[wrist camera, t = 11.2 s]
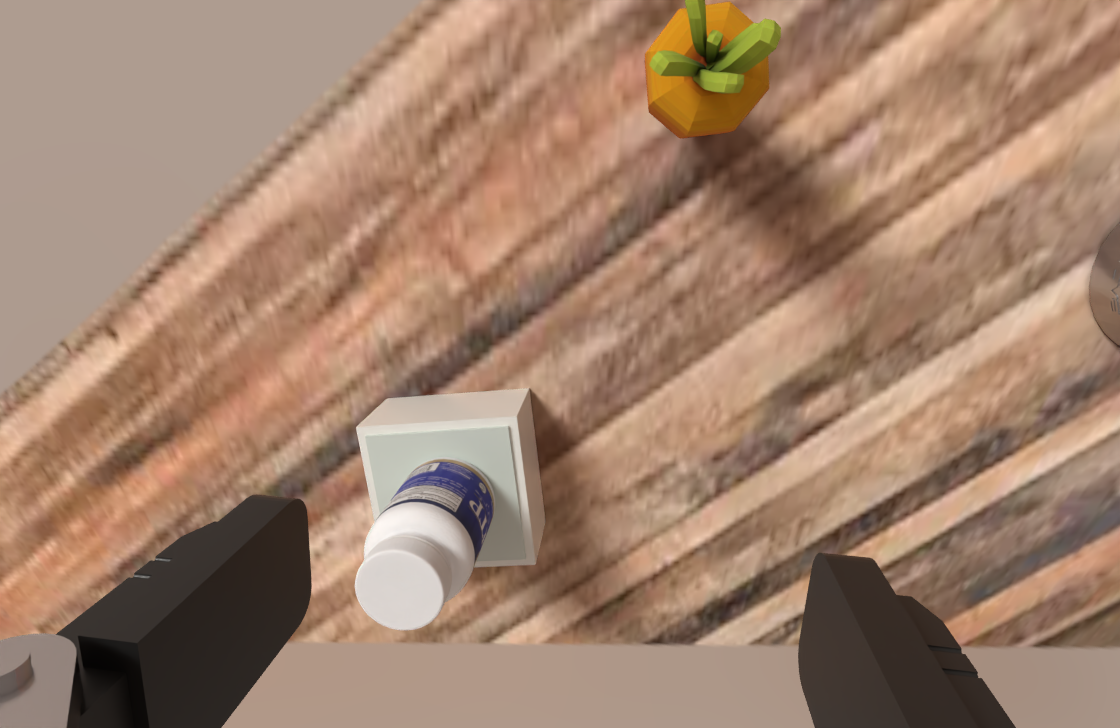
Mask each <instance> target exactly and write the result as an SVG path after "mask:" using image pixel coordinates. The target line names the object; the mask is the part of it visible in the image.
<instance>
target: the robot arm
mask: <svg viewBox="0 0 1120 728" xmlns="http://www.w3.org/2000/svg"><path fill="white" fill-rule="evenodd" d="M1089 290H1090V304H1091V307H1092V310H1093V313H1094V316H1095V319H1096V321H1097V322H1098V324H1099V325H1100V327H1101V329H1102V330H1103V332H1104V333H1105V334H1106V335H1107V336H1108V337H1109V338H1110V339H1111V340H1113V341H1114V342H1115V343H1116V344H1117V345H1119V346H1120V223H1119V224H1118V225H1117V226H1116V227H1115V228H1114V229H1113V230H1112V231H1111V232H1110V234H1109V235H1108V237H1107V239H1106V240H1105V242H1104V243H1103V245H1102V246H1101V248H1100V250H1099V252H1098V255H1097V257H1096V260H1095V262H1094V264H1093V267H1092V272H1091V278H1090V284H1089ZM310 596H311V566H310V550H309V533H308V516H307V509H306V506H305V504H304V502H303V501H302V500H300V499H295V498H286V497H276V496H266V495H252V496H250V497H248V498H247V499H245V500H244V501H243V502H242V503H241V504H239V505H238V506H237V507H236V508H234V509H233V510H232V511H231V512H229V513H228V514H227V515H226V516H225V517H223V518H222V519H221V520H220V521H218V522H213V523H210V524H208V525H206V526H204V527H202V528H200V529H197V530H195V531H193V532H191V533H189V534H186V535H184V536H182V537H180V538H179V539H178V540H176V541H175V542H174V543H173V544H171V545H170V546H169V547H167V548H166V549H165V550H164V551H162V552H161V553H160V554H158V555H157V556H156V559H155V561H149V562H148V563H147V564H146V565H144V566H143V567H142V568H140V569H139V570H138V571H137V572H135V573H134V577H133V578H128V579H126V580H125V581H124V582H122V583H121V584H120V585H119V586H117V587H116V588H115V589H113V590H112V591H111V592H110V593H108V594H107V595H106V596H104V597H103V598H102V599H101V600H99V601H98V602H97V603H95V604H94V605H93V606H92V607H90V608H89V609H88V610H86V611H85V612H84V613H83V614H81V615H80V616H79V617H77V618H76V619H75V620H74V621H72V622H71V623H70V624H68V625H67V626H66V627H65V628H63V629H62V630H61V631H59V632H58V633H57V634H56V635H54V634H30V635H22V636H17V637H12V638H8V639H4V640H1V641H0V728H221V727H222V726H223V725H224V723H225V722H226V721H227V719H228V718H229V717H230V716H231V714H232V713H233V712H234V710H235V709H236V708H237V706H238V705H239V704H240V703H241V701H242V700H243V699H244V697H245V696H246V695H247V693H248V692H249V691H250V689H251V688H252V687H253V685H254V684H255V683H256V682H257V680H258V679H259V678H260V676H261V675H262V674H263V672H264V671H265V670H266V668H267V667H268V666H269V665H270V663H271V662H272V661H273V659H274V658H275V657H276V655H277V654H278V653H279V651H280V650H281V649H282V648H283V646H284V645H285V644H286V642H287V641H288V640H289V638H290V637H291V636H292V634H293V633H294V632H295V631H296V629H297V628H298V627H299V625H300V624H301V622H302V620H303V618H304V616H305V614H306V611H307V608H308V605H309V601H310ZM798 659H799V660H798V662H799V674H800V680H801V685H802V689H803V692H804V695H805V698H806V701H807V704H808V707H809V711H810V714H811V717H812V720H813V723H814V726H815V728H1016V727H1015V726H1014V724H1013V723H1012V721H1011V720H1010V719H1009V717H1008V716H1007V714H1006V713H1005V711H1004V710H1003V708H1002V707H1001V706H1000V704H999V703H998V701H997V700H996V698H995V697H994V695H993V694H992V693H991V691H990V690H989V688H988V687H987V685H986V684H985V682H984V681H983V679H982V678H978V675H977V673H978V672H977V671H976V669H975V668H974V666H973V665H972V664H971V662H970V660H969V659H968V658H967V656H966V655H965V654H962V653H961V647H960V646H959V645H958V643H957V642H956V640H955V639H954V637H953V636H952V634H951V633H950V631H949V630H948V629H947V627H946V626H945V624H944V623H943V621H941V620H940V619H939V618H938V617H936V616H935V615H934V614H933V613H931V612H930V611H929V610H928V609H926V608H925V607H924V606H923V605H921V604H920V603H919V602H918V601H916V600H915V599H914V598H912V597H909V596H900V595H896V594H895V592H894V591H893V589H892V588H891V586H890V584H889V583H888V581H887V579H886V578H885V576H884V575H883V573H882V571H881V570H880V568H879V567H878V565H877V563H876V562H875V561H874V560H873V559H872V558H866V557H857V556H847V555H837V554H827V553H818V554H817V555H816V557H815V559H814V561H813V565H812V570H811V576H810V581H809V587H808V593H807V599H806V605H805V611H804V616H803V622H802V628H801V634H800V640H799V653H798Z"/></svg>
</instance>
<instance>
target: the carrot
mask: <svg viewBox="0 0 1120 728" xmlns="http://www.w3.org/2000/svg"><path fill="white" fill-rule="evenodd" d="M685 4H686V8H683V9H679V10H678V11H677V12H676V14H675V15H674V16H673V18H672V19H671V20H670V22H669V23H668V24H667V25H666V27H665V28H664V29H663V31H662V32H661V33H660V35H659V36H658V37H657V39H656V40H655V41H654V43H653V44H652V45H651V47H650V48H649V49H648V51H647V52H646V53H645V69H646V83H647V96H648V109H649V113H650V114H652V115H653V116H654V117H655V118H656V119H657V120H659V121H660V122H661V123H662V124H663V125H664V126H666V127H667V128H668V129H669V130H670V131H671V132H673V133H674V134H675V135H676V136H677V137H679V138H689V137H697V136H705V135H713V134H721V133H728V132H731V131H735V129H736V128H737V127H738V126H739V125H740V123H741V122H742V121H743V120H744V118H745V117H746V116H747V115H748V114H749V112H750V111H751V110H752V109H753V108H754V106H755V105H756V104H757V103H758V102H759V100H760V99H761V98H762V97H763V95H764V94H765V93H766V92H767V91H768V89H769V64H768V55H769V54H770V53H771V52H772V51H774V50H775V49H776V47H777V45H778V42H779V40H780V37H781V27H780V26H779V25H778V24H777V23H776V22H775V21H773V20H769V19H764V20H763V21H761V22H760V23H753V22H752V21H751V20H750V19H749V18H748V17H747V16H746V15H744V14H743V13H742V12H741V11H740V10H739V9H738V8H737V7H735V6H734V5H733V4H732V3H731V2H724V3H717V4H710V5H705V0H685Z"/></svg>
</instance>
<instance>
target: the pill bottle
mask: <svg viewBox="0 0 1120 728" xmlns="http://www.w3.org/2000/svg"><path fill="white" fill-rule="evenodd" d="M494 512H495V496H494V492H493V489H492V487H491V485H490V483H489V481H488V480H487V478H486V477H485V475H484V474H483V473H482V472H481V471H480V470H479V469H477V468H476V467H475V466H473V465H472V464H470V463H468V462H466V461H463V460H461V459H457V458H452V457H439V458H434V459H431V460H428V461H426V462H423V463H422V464H420V465H419V466H417V467H416V468H415V469H414V470H413V471H412V472H411V473H410V475H409V476H408V477H407V478H406V480H405V481H404V483H403V484H402V485H401V487H400V488H399V490H398V491H397V492H396V494H395V495H394V497H393V498H392V499H391V501H390V502H389V503H388V505H387V506H386V507H385V509H384V510H383V511H382V513H381V514H380V515H379V516H378V518H377V519H376V521H375V522H374V524H373V525H372V527H371V529H370V531H369V533H368V535H367V538H366V541H365V547H364V559H365V560H364V561H363V563H362V565H361V566H360V568H359V570H358V572H357V576H356V580H355V590H356V595H357V598H358V601H359V603H360V605H361V607H362V608H363V610H364V611H365V612H366V613H367V614H368V615H369V616H370V617H371V618H372V619H373V620H375V621H376V622H378V623H379V624H381V625H383V626H386V627H388V628H392V629H396V630H414V629H418V628H421V627H423V626H425V625H427V624H429V623H430V622H432V621H433V620H434V619H435V618H436V617H437V616H438V614H439V613H440V611H441V609H442V607H443V605H444V603H445V602H446V601H448V600H450V599H452V598H453V597H454V596H456V595H457V594H458V593H459V592H460V591H461V590H462V589H463V587H464V586H465V585H466V583H467V581H468V579H469V578H470V576H471V574H472V571H473V569H474V566H475V563H476V561H477V558H478V556H479V553H480V551H481V548H482V545H483V543H484V540H485V537H486V535H487V532H488V529H489V527H490V524H491V522H492V519H493V516H494Z"/></svg>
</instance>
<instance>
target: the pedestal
mask: <svg viewBox="0 0 1120 728" xmlns="http://www.w3.org/2000/svg"><path fill="white" fill-rule="evenodd" d="M356 429H357V435H358V440H359V445H360V450H361V455H362V460H363V465H364V470H365V475H366V481H367V486H368V491H369V496H370V501H371V506H372V511H373V516H374V521H376V519H377V518H378V516H379V515H380V514H381V513H382V511H383V510H384V509H385V507H386V506H387V505H388V503H389V502H390V501H391V499H392V498H393V497H394V495H395V494H396V492H397V491H398V490H399V488H400V487H401V485H402V484H403V483H404V481H405V480H406V478H407V477H408V476H409V475H410V473H411V472H412V471H413V470H414V469H415V468H416V467H417V466H419V465H420V464H422V463H423V462H426V461H428V460H431V459H434V458H439V457H452V458H457V459H461V460H463V461H466V462H468V463H470V464H472V465H473V466H475V467H476V468H477V469H479V470H480V471H481V472H482V473H483V474H484V475H485V477H486V478H487V480H488V481H489V483H490V485H491V487H492V489H493V492H494V496H495V512H494V516H493V519H492V522H491V524H490V527H489V529H488V532H487V535H486V537H485V540H484V543H483V545H482V548H481V551H480V553H479V556H478V558H477V561H476V563H475V566H474V567H495V566H519V565H536V562H537V557H538V553H539V549H540V544H541V540H542V536H543V531H544V527H545V522H546V520H545V511H544V503H543V495H542V487H541V479H540V471H539V462H538V454H537V446H536V438H535V430H534V421H533V413H532V405H531V397H530V389H529V388H523V389H510V390H496V391H482V392H469V393H455V394H441V395H428V396H414V397H401V398H387V399H386V400H385V401H384V402H383V403H382V404H381V405H380V406H378V407H377V408H376V409H375V410H374V411H373V412H372V413H371V414H370V415H369V416H368V417H367V418H365V419H364V420H363V421H362V422H361V423H360V424H359V425H358V426H357V427H356Z"/></svg>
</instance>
